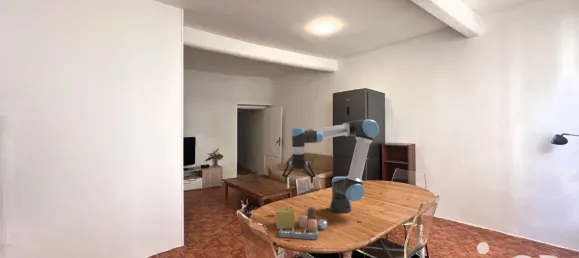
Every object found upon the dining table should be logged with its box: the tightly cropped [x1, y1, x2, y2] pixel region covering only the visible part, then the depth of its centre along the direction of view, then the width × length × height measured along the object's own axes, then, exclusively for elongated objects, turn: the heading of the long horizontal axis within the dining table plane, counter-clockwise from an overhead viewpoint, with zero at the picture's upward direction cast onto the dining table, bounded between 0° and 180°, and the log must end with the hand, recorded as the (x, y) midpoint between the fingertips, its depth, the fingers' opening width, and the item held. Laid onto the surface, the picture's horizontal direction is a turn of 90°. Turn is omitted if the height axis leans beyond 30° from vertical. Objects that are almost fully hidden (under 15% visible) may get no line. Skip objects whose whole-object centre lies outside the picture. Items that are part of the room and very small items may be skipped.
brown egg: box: [298, 214, 308, 229], centre depth 156 cm, size 5×5×6 cm
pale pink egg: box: [307, 218, 317, 233], centre depth 149 cm, size 5×5×6 cm
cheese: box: [275, 206, 296, 230], centre depth 157 cm, size 10×11×10 cm
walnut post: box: [307, 206, 316, 220], centre depth 164 cm, size 4×4×8 cm
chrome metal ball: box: [316, 218, 328, 231], centre depth 153 cm, size 6×6×4 cm
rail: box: [278, 227, 319, 240], centre depth 144 cm, size 21×8×3 cm, turn 80°
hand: (299, 188), depth 160 cm, fingers open, 13 cm apart
